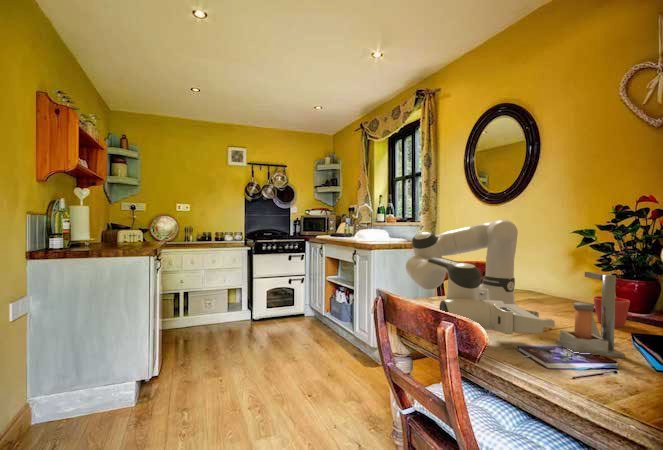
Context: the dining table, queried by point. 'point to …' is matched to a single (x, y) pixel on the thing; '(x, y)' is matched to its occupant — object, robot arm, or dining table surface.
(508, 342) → the dining table surface
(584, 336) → the orange capped jar
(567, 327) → the dining table surface
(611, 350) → the grey post stand
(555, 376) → the dining table surface
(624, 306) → the flower pot
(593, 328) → the flask
